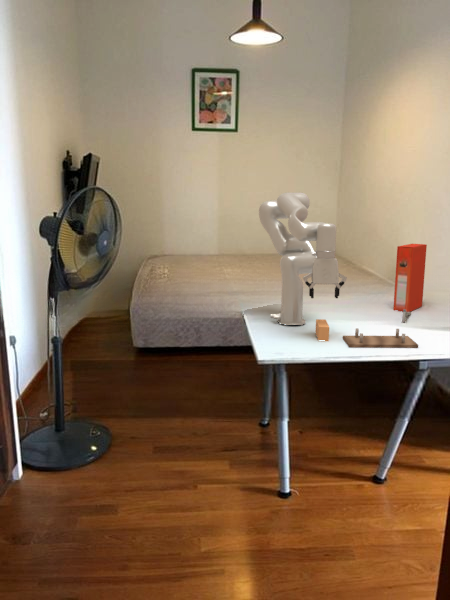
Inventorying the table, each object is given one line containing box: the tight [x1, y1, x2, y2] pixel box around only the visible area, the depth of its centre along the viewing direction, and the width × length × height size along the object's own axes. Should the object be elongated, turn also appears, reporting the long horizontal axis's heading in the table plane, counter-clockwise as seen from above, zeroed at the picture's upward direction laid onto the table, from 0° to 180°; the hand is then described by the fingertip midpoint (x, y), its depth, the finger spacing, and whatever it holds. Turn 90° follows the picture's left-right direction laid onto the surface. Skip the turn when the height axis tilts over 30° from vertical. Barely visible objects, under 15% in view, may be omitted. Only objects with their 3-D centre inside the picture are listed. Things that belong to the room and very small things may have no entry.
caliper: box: [401, 309, 412, 324], centre depth 235 cm, size 20×1×6 cm, turn 152°
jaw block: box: [314, 319, 330, 342], centre depth 204 cm, size 4×12×6 cm, turn 176°
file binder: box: [393, 243, 428, 313], centre depth 251 cm, size 8×17×32 cm, turn 138°
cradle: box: [342, 328, 419, 349], centre depth 196 cm, size 26×12×5 cm, turn 89°
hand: (324, 297), depth 201 cm, fingers open, 9 cm apart
